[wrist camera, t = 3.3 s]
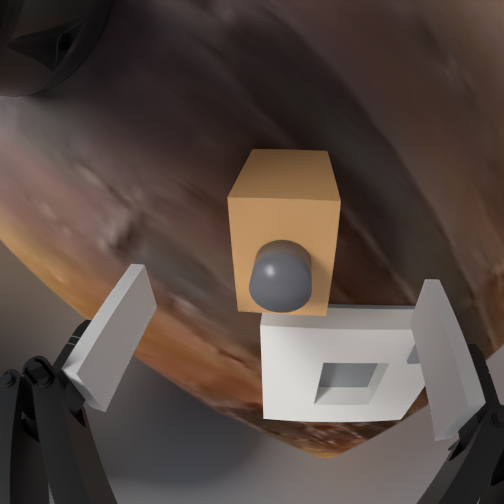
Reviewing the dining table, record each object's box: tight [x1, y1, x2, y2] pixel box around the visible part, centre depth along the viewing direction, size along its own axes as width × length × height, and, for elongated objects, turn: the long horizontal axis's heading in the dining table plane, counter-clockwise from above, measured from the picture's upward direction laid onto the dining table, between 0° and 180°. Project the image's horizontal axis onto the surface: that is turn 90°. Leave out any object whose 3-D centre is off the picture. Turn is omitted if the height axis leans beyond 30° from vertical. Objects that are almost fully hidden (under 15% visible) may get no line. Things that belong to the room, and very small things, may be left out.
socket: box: [260, 304, 425, 422], centre depth 30 cm, size 18×18×3 cm
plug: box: [227, 149, 341, 316], centre depth 18 cm, size 5×7×10 cm
